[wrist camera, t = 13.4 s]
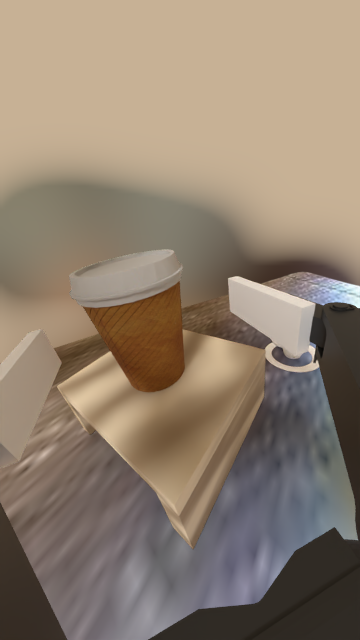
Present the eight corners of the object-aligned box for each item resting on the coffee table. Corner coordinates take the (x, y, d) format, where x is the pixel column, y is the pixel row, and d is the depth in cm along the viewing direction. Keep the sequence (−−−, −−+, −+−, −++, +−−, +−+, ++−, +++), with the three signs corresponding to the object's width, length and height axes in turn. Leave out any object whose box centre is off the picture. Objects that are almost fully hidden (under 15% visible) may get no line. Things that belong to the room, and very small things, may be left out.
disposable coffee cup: (169, 336, 27) (147, 248, 22) (218, 368, 20) (204, 248, 14) (103, 371, 23) (56, 272, 17) (136, 428, 16) (71, 289, 10)
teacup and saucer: (269, 337, 36) (270, 318, 34) (321, 344, 32) (325, 323, 30) (259, 366, 30) (259, 345, 28) (322, 381, 26) (327, 357, 24)
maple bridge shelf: (82, 427, 25) (56, 386, 22) (163, 357, 36) (154, 322, 32) (193, 549, 14) (174, 505, 11) (264, 396, 25) (265, 349, 21)
